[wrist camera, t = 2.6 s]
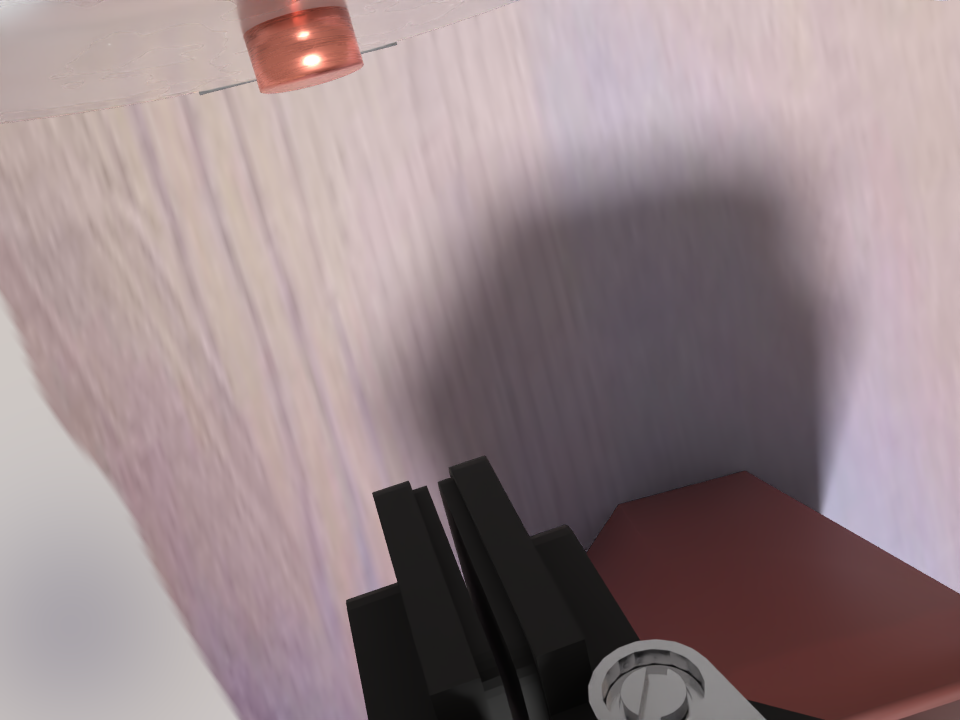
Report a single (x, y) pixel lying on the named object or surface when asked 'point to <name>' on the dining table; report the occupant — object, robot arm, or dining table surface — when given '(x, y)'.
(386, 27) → the cooker lid
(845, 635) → the bucket
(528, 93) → the dining table surface
